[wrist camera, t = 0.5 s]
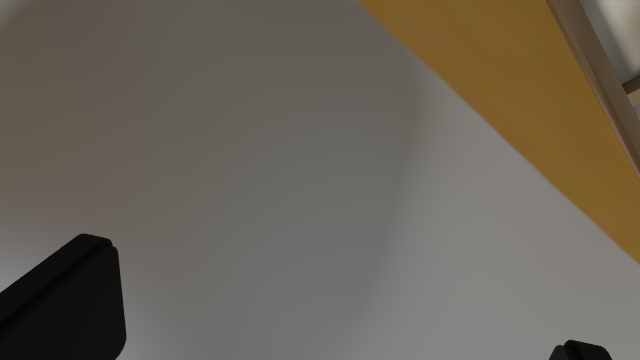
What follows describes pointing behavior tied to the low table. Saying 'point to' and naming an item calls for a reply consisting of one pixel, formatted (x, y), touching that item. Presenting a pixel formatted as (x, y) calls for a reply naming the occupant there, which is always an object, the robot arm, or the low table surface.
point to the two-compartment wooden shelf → (608, 60)
